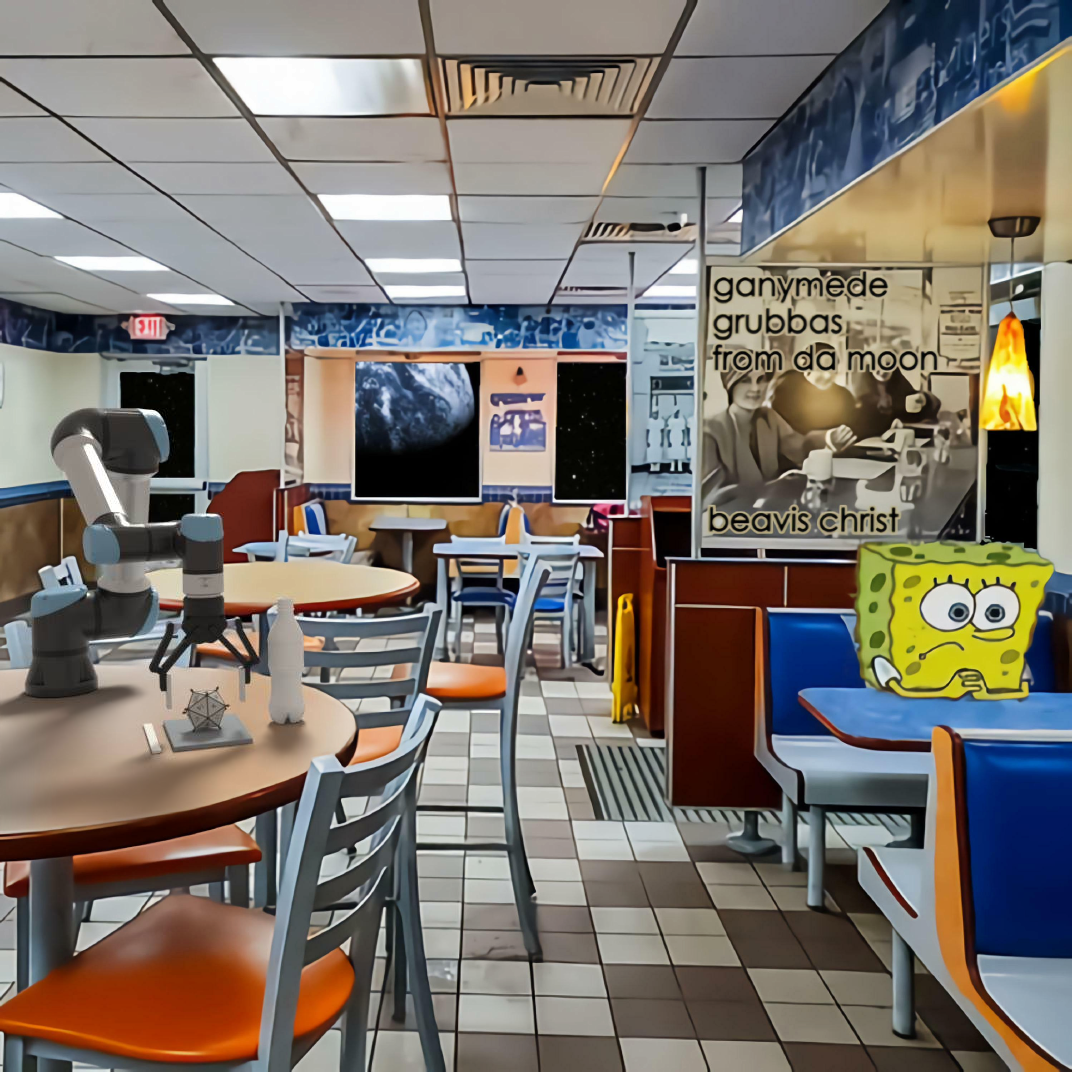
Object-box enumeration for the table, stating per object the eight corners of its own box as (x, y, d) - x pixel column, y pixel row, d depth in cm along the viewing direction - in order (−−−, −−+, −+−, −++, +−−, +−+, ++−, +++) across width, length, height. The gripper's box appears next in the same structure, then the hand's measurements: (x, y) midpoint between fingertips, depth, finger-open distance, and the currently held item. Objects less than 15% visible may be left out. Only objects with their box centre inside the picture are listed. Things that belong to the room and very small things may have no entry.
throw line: (143, 726, 208) (143, 724, 208) (151, 725, 208) (151, 723, 208) (152, 753, 190) (152, 751, 190) (161, 752, 190) (161, 750, 190)
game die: (212, 750, 202) (214, 717, 196) (172, 733, 203) (173, 699, 196) (235, 718, 209) (239, 685, 203) (197, 701, 210) (199, 668, 203)
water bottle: (312, 718, 215) (310, 596, 213) (292, 727, 208) (290, 601, 206) (281, 715, 217) (279, 595, 215) (261, 723, 210) (259, 599, 208)
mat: (163, 724, 209) (163, 720, 209) (235, 717, 215) (235, 713, 215) (174, 751, 191) (174, 747, 191) (252, 742, 197) (252, 738, 197)
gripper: (135, 601, 192) (138, 715, 194) (273, 593, 203) (275, 702, 205) (132, 595, 199) (135, 706, 201) (266, 588, 209) (268, 693, 211)
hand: (206, 704), depth 203 cm, fingers open, 13 cm apart
